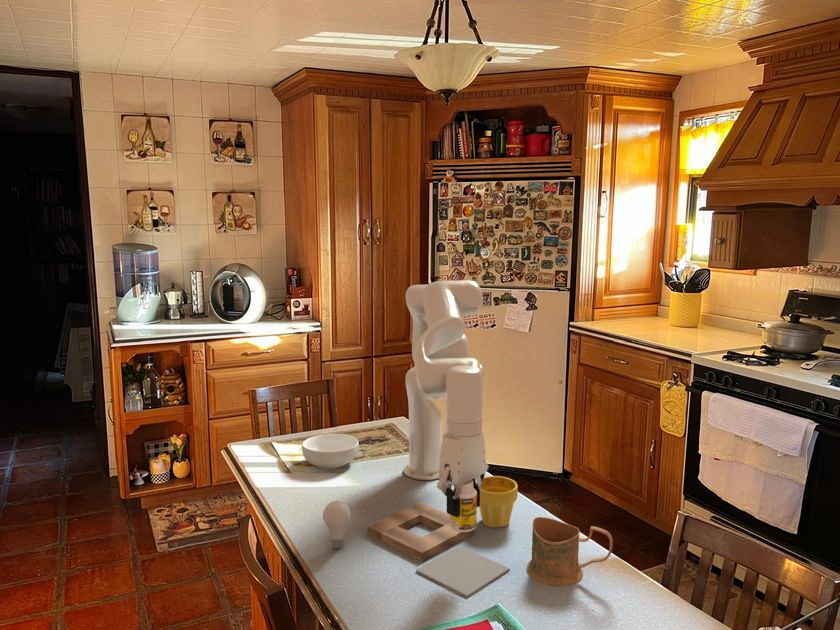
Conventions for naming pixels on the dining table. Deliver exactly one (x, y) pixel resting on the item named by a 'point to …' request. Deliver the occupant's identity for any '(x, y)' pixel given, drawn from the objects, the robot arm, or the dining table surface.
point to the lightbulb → (336, 521)
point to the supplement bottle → (466, 509)
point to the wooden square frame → (410, 543)
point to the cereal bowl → (330, 450)
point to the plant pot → (497, 500)
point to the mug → (558, 552)
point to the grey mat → (463, 571)
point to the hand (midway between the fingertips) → (463, 509)
